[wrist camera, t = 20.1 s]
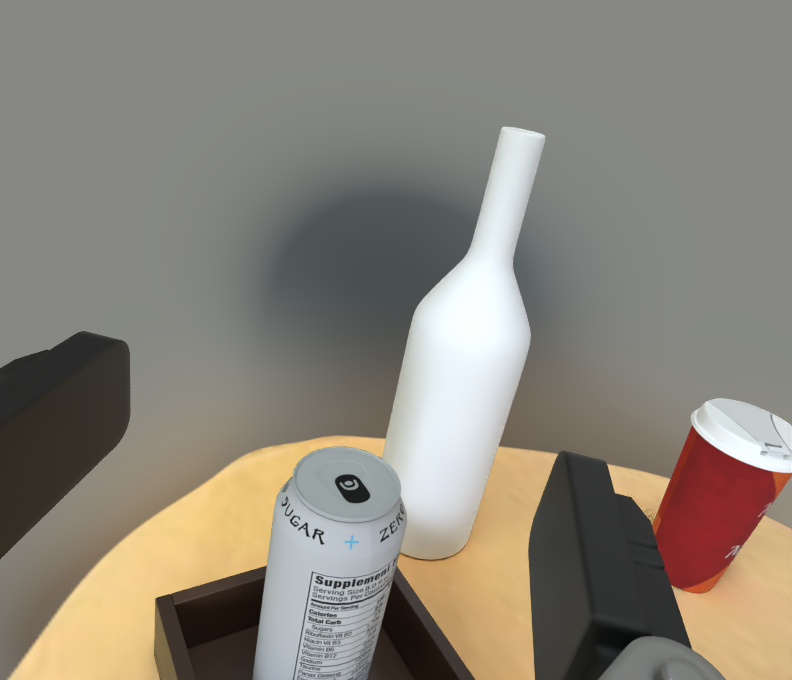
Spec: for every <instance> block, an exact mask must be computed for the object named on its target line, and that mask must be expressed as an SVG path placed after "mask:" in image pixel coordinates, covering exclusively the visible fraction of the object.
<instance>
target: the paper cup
mask: <svg viewBox="0 0 792 680" xmlns="http://www.w3.org/2000/svg"><path fill="white" fill-rule="evenodd" d="M770 415H771V416H770ZM691 422H692V427H691V429H690V432H689V434H688V437H687V440H686V442H685V445H684V447H683V450H682V452H681V455H680V457H679V460H678V462H677V465H676V467H675V470H674V472H673V475H672V477H671V480H670V482H669V485H668V487H667V490H666V492H665V495H664V497H663V500H662V502H661V505H660V507H659V510H658V512H657V515H656V518H655V520H654V523H653V525H652V528H653V531H654V534H655V538H656V541H657V544H658V551H660V553H661V556H662V559H663V562H664V565H665V568H664V571H665V572H667V574H668V577H669V580H670V583H671V585H673V586H675V587H677V588H679V589H682V590H685V591H688V592H693V593H703V592H707V591H709V590H710V589H711V588H712V587H713V586H714V585H715V584H716V583H717V581H718V580H719V579H720V577H721V576H722V575H723V573H724V572H725V570H726V569H727V568H728V566H729V565H730V563H731V562H732V561H733V559H734V558H735V556H736V555H737V553H738V552H739V551H740V549H741V548H742V546H743V545H744V543H745V542H746V541H747V539H748V538H749V536H750V535H751V533H752V532H753V531H754V529H755V528H756V526H757V525H758V523H759V522H760V520H761V519H762V518H763V516H764V515H765V513H766V512H767V510H768V509H769V507H770V506H771V505H772V503H773V502H774V500H775V499H776V497H777V496H778V494H779V493H780V492H781V490H782V489H783V487H784V486H785V484H786V483H787V481H788V480H789V479H790V477H791V475H792V426H791V425H790V424H789V423H787V422H786V421H784V420H782V419H781V418H779V417H777V416H776V415H774V414H771V413H770V412H768V411H765V410H763V409H761V408H758V407H755V406H753V405H750V404H747V403H744V402H740V401H736V400H731V399H723V398H717V399H713V400H709V401H707V402H705V403H704V404H703V406H702V407H701V408H699V409H697V410H696V411H694V412H693V413H692V415H691Z"/></svg>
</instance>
